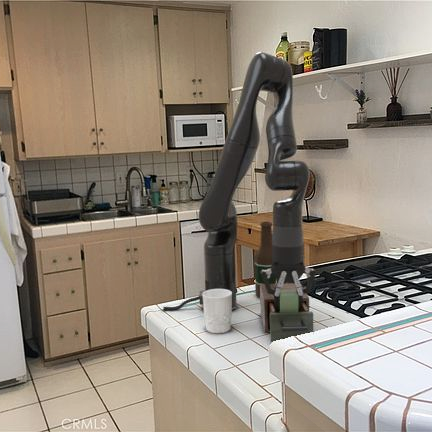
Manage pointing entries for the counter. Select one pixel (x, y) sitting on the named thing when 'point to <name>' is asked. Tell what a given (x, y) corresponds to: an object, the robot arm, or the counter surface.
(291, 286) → the cabinet
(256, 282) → the beer bottle
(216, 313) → the white cup
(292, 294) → the block
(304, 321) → the drawer
